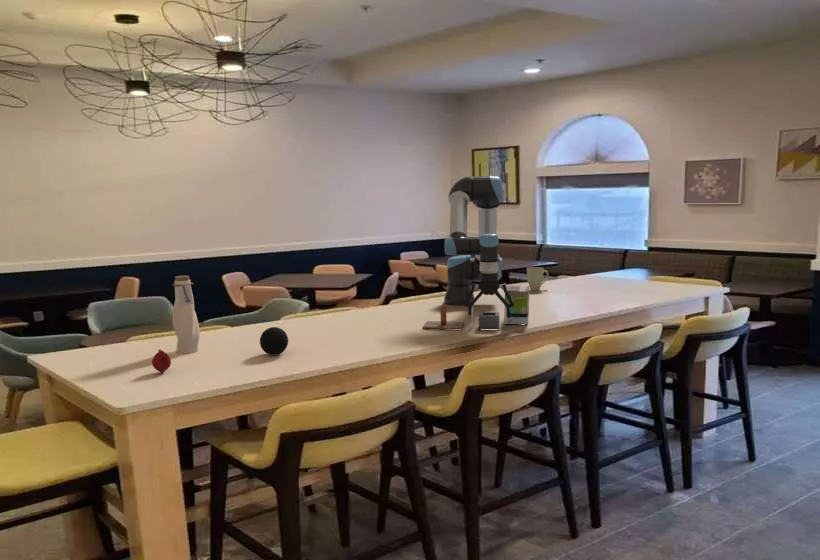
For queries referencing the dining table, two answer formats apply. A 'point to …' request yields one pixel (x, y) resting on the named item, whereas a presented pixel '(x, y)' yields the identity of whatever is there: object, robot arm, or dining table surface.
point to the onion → (161, 361)
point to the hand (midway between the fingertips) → (489, 323)
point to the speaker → (273, 341)
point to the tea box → (518, 305)
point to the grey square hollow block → (489, 320)
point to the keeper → (442, 322)
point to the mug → (535, 277)
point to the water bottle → (185, 316)
